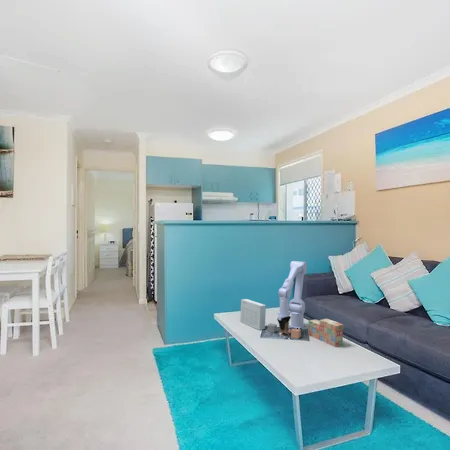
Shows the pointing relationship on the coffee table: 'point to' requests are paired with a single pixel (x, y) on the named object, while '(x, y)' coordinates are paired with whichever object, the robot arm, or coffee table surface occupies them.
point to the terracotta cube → (296, 333)
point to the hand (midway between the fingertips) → (283, 328)
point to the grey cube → (272, 327)
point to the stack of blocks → (327, 331)
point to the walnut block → (285, 328)
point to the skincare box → (253, 314)
